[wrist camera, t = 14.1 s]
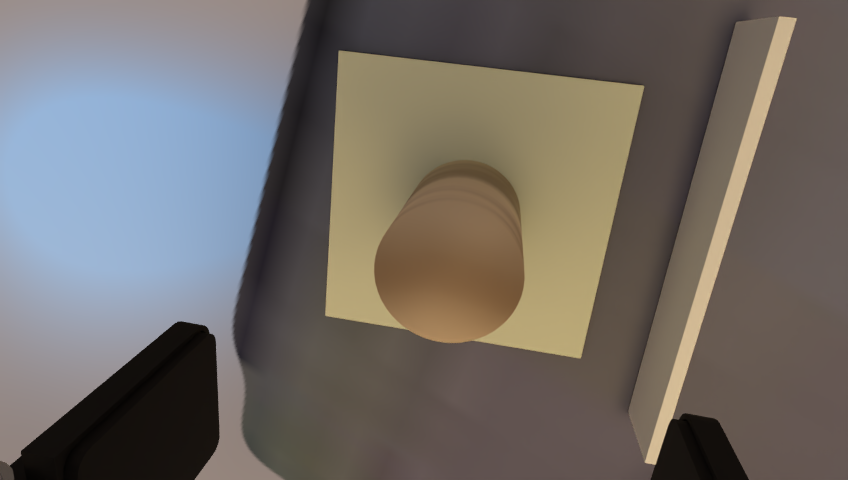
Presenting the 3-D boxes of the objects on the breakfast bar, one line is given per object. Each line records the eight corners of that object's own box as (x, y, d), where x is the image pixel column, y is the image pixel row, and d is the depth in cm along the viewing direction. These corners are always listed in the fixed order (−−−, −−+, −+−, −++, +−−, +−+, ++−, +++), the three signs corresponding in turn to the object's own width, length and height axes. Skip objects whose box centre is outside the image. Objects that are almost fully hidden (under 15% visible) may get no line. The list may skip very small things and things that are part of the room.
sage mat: (341, 50, 26) (338, 50, 26) (642, 85, 25) (644, 85, 24) (327, 312, 31) (325, 315, 31) (579, 354, 29) (580, 358, 29)
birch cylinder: (415, 153, 27) (379, 192, 19) (528, 167, 26) (536, 214, 19) (405, 257, 29) (369, 330, 21) (511, 273, 28) (511, 353, 21)
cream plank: (736, 21, 23) (779, 16, 20) (750, 23, 23) (796, 18, 20) (627, 411, 30) (644, 462, 26) (639, 413, 30) (657, 465, 26)
